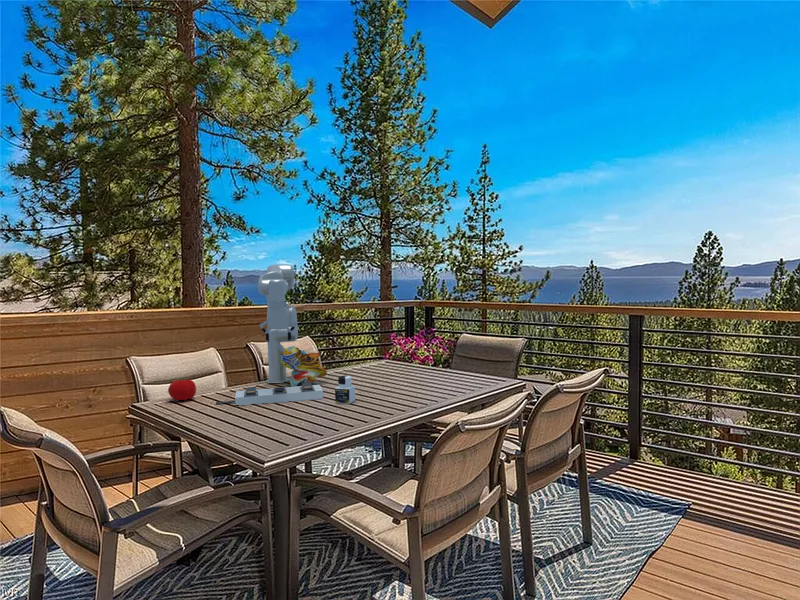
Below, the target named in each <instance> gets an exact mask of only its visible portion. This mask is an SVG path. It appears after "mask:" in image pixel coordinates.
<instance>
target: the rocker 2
mask: <svg viewBox="0 0 800 600" xmlns="http://www.w3.org/2000/svg"><path fill="white" fill-rule="evenodd" d="M312 385H313V383H312V384H311V382H310V383H305V382H302V383H301V386H302V388H303V391H304V390H313V388H312Z"/></svg>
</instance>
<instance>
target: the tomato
mask: <svg viewBox="0 0 800 600" xmlns="http://www.w3.org/2000/svg"><path fill="white" fill-rule="evenodd" d="M196 385H197V384H196V383H195V382H194V381H193V380H192V379H190V378H183V377H182V379H177V380H174V381H172V382H171V383H170V385H169V386H168V389H167V392H168V394H169V396H170V397H171V398H172V399H173V400H175V401H177V400H185V401H188V400H187V399H190V400H192V399H193V398H194V396H195V395H196V393H197V386H196ZM191 398H192V399H191Z"/></svg>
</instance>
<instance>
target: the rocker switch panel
mask: <svg viewBox="0 0 800 600" xmlns="http://www.w3.org/2000/svg"><path fill="white" fill-rule="evenodd" d="M283 387H284V388H285V390H283V391H275V389H274V388H275V387H273V388H272V387H271V388H262V389H260V388H259V389H256V394H255V395H246V390H236V391H235V397H234V400H223V401H216V402H215V403H216V404H218V403H229V404H232V403H231V402H235V403H234V404H235V405H246V406H251V405H250V404H257V405H263V404H262V403H269V404H277V403H276V402H280V403H288V402H287V401H291V402H301V401H302V402H303V401H314V400H323V399H324V389H323V388H322V386H321V385H320V384H312V388H313V390H304V391H303V388H302V385H299V386H298V385H296V386H295V387H292V386H287V387H286V386H283ZM216 404H215V405H216ZM218 405H219V404H218Z"/></svg>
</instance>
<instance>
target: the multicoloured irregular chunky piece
mask: <svg viewBox="0 0 800 600" xmlns="http://www.w3.org/2000/svg"><path fill="white" fill-rule="evenodd" d="M319 357H321V353H320V352H313V353H307V352H306V351H305V350H301V349H299V347H296V346H288V347H286V348H285V351H283V353H282V355H281V358H280V362H281V364H283V366H282V367H286V369H290V370H292V371H291V377H289V383H290V387H296V386H298V384H302V383H310V382H311V384H312V385H313V384H314V383H315V382H316V378H319V379H320V378H323V377H325V376H327V373H328V371H327V370H326V369H325V368H324V367H322V366H321V364H322V363H321V361H320V360H321V359H320V358H319Z"/></svg>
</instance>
